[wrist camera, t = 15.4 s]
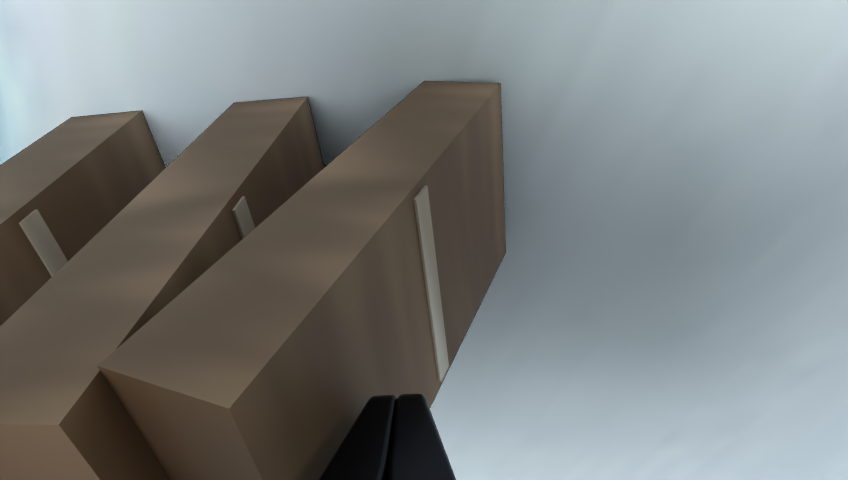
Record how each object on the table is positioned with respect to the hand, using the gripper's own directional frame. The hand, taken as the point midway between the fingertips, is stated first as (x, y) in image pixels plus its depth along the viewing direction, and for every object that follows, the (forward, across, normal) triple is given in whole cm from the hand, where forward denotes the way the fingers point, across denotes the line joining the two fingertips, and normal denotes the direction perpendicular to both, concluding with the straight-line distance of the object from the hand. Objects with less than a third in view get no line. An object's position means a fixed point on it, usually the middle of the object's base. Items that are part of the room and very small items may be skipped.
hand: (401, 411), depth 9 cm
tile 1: (+8, -1, 0) cm, 8 cm away
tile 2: (+8, +4, 0) cm, 9 cm away
